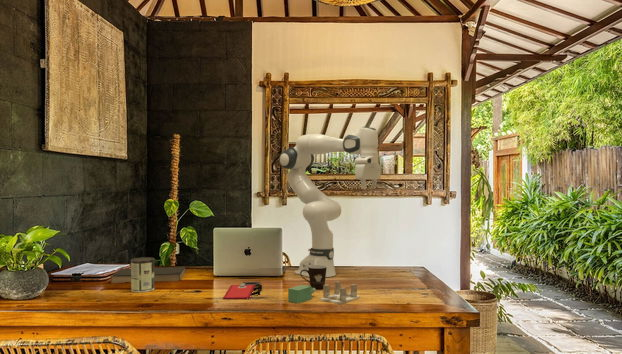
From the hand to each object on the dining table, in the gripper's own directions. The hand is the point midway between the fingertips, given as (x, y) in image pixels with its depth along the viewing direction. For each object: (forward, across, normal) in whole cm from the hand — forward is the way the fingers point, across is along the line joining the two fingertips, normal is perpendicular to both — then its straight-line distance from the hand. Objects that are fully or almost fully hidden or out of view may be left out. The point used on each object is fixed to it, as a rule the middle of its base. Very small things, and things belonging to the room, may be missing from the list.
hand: (368, 189), depth 230 cm
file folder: (+47, +49, -100) cm, 121 cm away
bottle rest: (+46, +32, +3) cm, 56 cm away
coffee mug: (+46, +22, -17) cm, 54 cm away
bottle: (+46, +41, -9) cm, 62 cm away
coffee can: (+46, +69, -80) cm, 115 cm away
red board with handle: (+47, +44, -40) cm, 75 cm away
